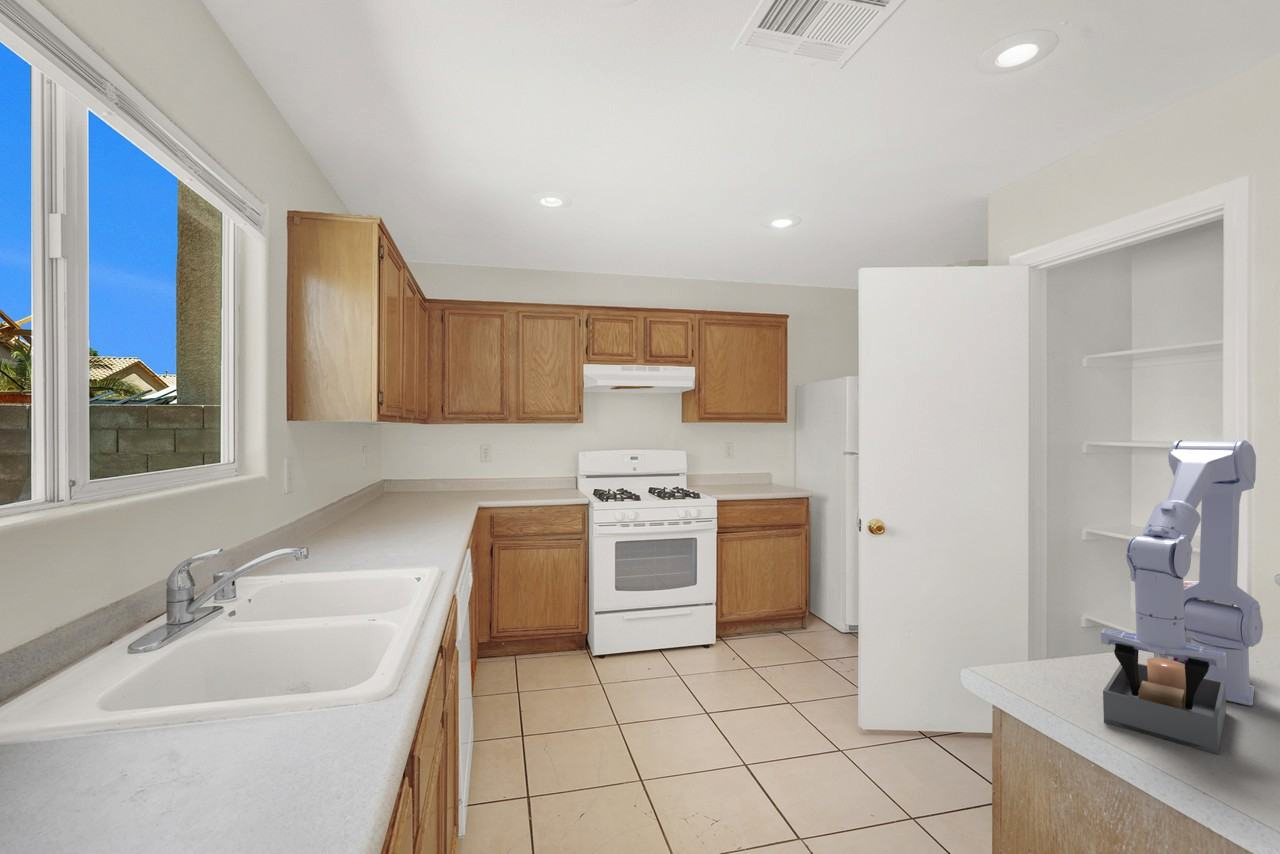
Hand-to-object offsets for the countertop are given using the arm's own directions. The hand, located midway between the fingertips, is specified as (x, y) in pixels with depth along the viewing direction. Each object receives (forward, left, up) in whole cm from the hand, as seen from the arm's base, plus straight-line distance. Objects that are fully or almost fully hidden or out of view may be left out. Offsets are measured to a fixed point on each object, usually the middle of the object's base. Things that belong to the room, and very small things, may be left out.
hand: (1161, 700), depth 91 cm
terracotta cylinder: (-7, 0, -3) cm, 8 cm away
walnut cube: (0, 0, -3) cm, 3 cm away
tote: (-4, 0, -4) cm, 5 cm away
